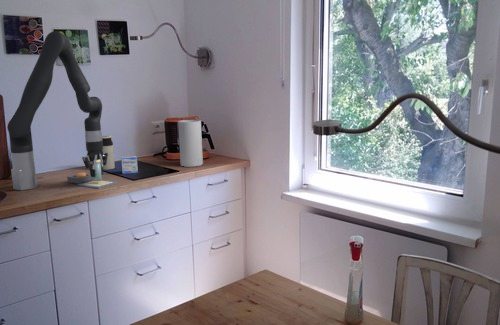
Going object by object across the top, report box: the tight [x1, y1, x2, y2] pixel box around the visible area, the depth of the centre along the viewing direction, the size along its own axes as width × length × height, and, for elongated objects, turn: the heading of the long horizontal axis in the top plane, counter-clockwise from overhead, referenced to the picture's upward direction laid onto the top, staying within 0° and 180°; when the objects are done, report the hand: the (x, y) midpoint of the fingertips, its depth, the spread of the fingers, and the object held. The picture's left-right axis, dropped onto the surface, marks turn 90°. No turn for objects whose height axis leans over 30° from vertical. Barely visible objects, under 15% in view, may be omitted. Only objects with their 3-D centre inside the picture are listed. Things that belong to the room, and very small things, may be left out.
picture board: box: [77, 179, 119, 190], centre depth 218 cm, size 12×14×1 cm
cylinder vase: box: [177, 119, 204, 168], centre depth 257 cm, size 12×12×25 cm
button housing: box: [66, 173, 93, 185], centre depth 225 cm, size 9×9×3 cm
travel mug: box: [102, 135, 116, 171], centre depth 253 cm, size 8×8×18 cm
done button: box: [74, 172, 87, 177], centre depth 225 cm, size 5×5×2 cm
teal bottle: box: [91, 159, 103, 181], centre depth 217 cm, size 4×4×10 cm
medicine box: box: [120, 155, 139, 175], centre depth 242 cm, size 8×4×9 cm, turn 105°
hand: (97, 175), depth 217 cm, fingers closed on teal bottle, 4 cm apart
